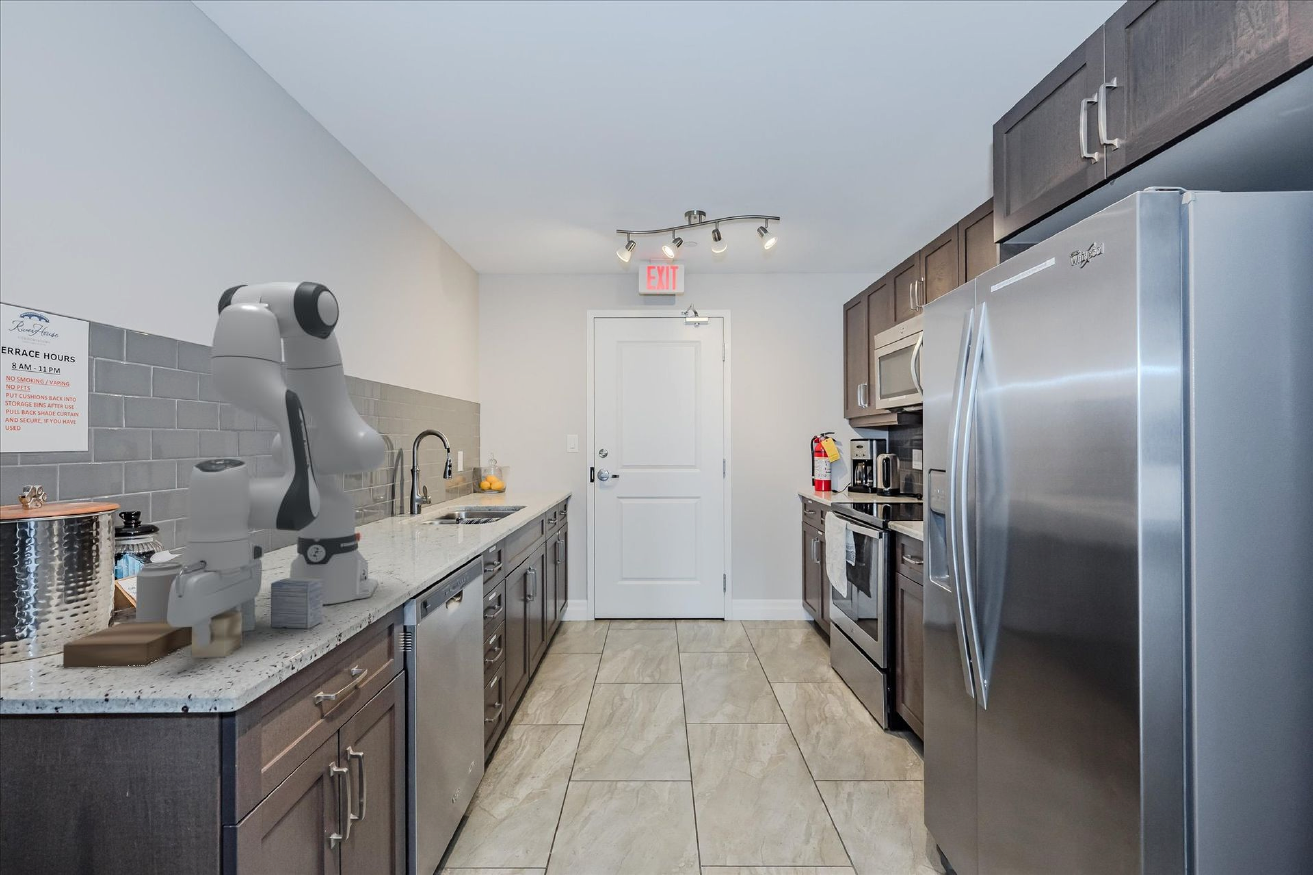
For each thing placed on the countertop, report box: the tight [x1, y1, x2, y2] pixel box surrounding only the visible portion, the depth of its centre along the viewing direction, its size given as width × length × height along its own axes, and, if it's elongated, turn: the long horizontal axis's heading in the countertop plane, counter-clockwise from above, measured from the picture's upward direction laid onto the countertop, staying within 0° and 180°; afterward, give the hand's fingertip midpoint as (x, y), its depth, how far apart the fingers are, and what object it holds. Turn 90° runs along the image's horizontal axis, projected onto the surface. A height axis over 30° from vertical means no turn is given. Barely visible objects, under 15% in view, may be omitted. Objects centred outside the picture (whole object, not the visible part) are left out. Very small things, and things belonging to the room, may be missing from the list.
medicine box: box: [270, 577, 324, 629], centre depth 120 cm, size 8×4×9 cm, turn 84°
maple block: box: [191, 612, 242, 659], centre depth 104 cm, size 5×5×6 cm
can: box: [135, 560, 184, 622], centre depth 118 cm, size 8×8×12 cm
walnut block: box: [62, 621, 192, 668], centre depth 103 cm, size 12×12×4 cm
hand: (217, 638), depth 104 cm, fingers closed on maple block, 5 cm apart
